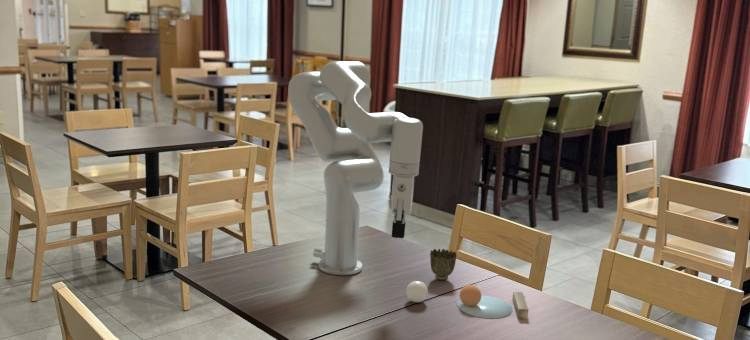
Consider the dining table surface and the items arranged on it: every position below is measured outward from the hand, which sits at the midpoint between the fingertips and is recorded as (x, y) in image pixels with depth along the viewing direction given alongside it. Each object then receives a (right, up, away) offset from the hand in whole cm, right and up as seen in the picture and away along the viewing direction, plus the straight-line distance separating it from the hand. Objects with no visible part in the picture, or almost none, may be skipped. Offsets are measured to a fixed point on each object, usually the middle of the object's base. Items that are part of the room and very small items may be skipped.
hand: (397, 236), depth 176 cm
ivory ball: (+5, -14, +1) cm, 15 cm away
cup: (+13, -14, +17) cm, 26 cm away
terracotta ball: (+19, -15, 0) cm, 24 cm away
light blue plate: (+22, -18, 0) cm, 29 cm away
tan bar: (+31, -19, 0) cm, 36 cm away
